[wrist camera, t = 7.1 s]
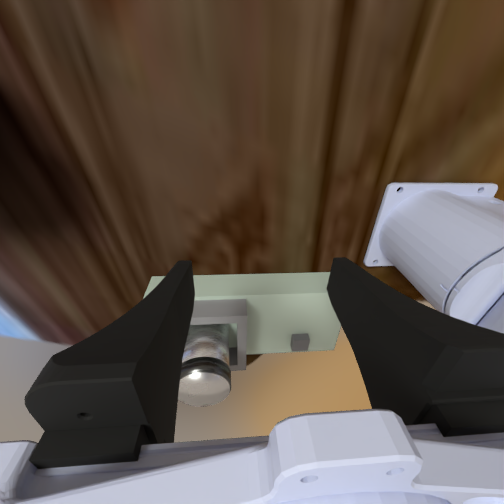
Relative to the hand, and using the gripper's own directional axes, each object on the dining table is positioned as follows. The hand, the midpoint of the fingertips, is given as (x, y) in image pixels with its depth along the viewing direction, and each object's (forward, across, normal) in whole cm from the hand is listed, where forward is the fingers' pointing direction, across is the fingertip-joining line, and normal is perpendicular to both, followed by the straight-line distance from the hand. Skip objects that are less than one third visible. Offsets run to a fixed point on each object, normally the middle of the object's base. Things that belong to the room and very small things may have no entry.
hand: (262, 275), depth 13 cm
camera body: (+9, 0, +11) cm, 14 cm away
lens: (+6, +4, +11) cm, 13 cm away
